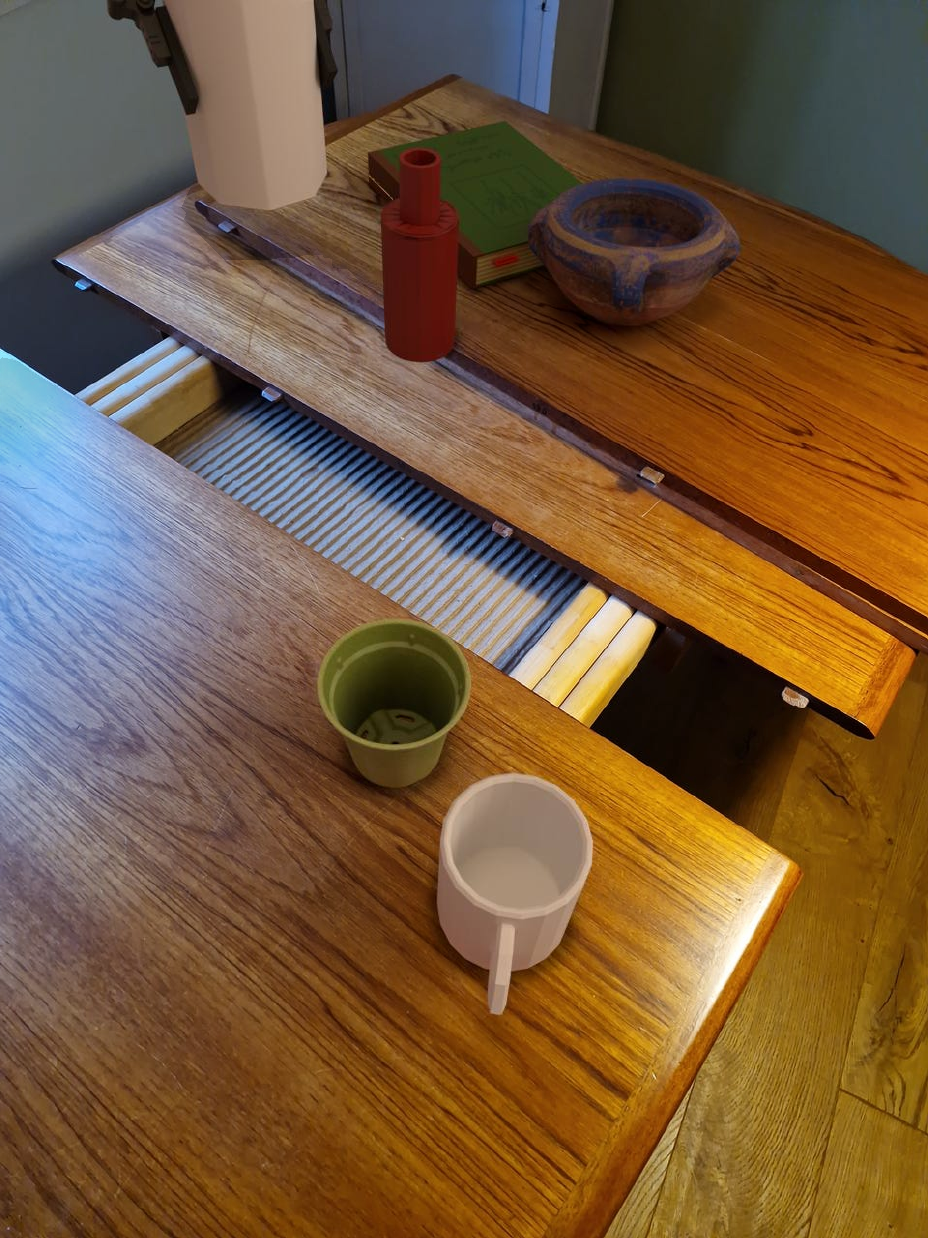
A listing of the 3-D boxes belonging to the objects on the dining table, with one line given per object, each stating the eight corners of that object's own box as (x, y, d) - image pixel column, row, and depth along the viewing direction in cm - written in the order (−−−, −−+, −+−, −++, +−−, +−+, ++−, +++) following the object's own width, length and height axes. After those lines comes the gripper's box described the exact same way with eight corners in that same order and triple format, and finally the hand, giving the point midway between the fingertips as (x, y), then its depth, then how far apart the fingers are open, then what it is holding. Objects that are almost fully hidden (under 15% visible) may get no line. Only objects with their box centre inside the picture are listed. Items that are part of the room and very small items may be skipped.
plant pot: (478, 706, 64) (485, 635, 57) (447, 827, 58) (451, 764, 51) (352, 678, 65) (344, 605, 58) (309, 794, 59) (295, 728, 52)
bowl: (630, 236, 102) (648, 146, 94) (740, 317, 93) (770, 226, 85) (501, 280, 96) (509, 188, 88) (606, 372, 87) (625, 279, 79)
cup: (273, 227, 74) (236, -40, 59) (171, 186, 77) (112, -77, 62) (353, 172, 80) (338, -83, 65) (255, 136, 83) (220, -115, 68)
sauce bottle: (378, 356, 87) (370, 171, 73) (394, 316, 91) (389, 133, 77) (446, 366, 86) (452, 182, 72) (459, 325, 91) (467, 143, 76)
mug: (416, 1032, 50) (416, 985, 43) (447, 834, 58) (452, 762, 50) (558, 1055, 50) (584, 1011, 42) (572, 852, 57) (596, 783, 49)
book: (369, 184, 107) (367, 152, 104) (502, 151, 113) (505, 120, 110) (475, 292, 94) (477, 260, 91) (619, 249, 100) (625, 217, 97)
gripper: (290, -194, 73) (381, 88, 78) (-6, -169, 65) (115, 142, 70) (310, -272, 66) (409, 43, 71) (-18, -254, 59) (117, 98, 63)
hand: (263, 92), depth 70 cm, fingers closed on cup, 11 cm apart
